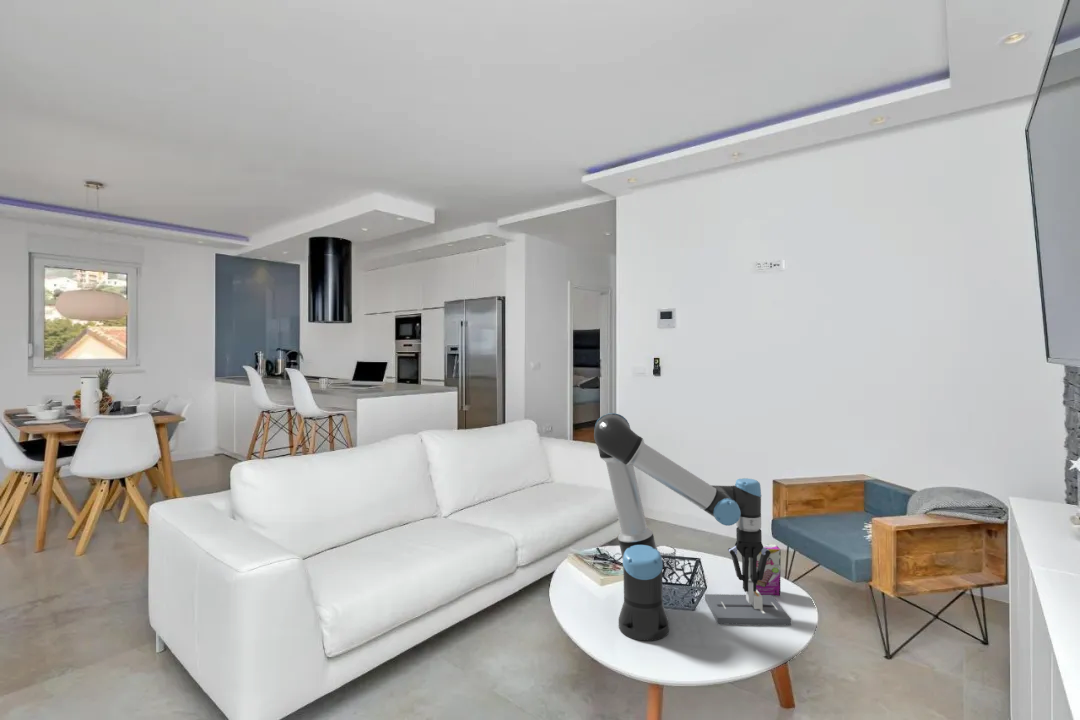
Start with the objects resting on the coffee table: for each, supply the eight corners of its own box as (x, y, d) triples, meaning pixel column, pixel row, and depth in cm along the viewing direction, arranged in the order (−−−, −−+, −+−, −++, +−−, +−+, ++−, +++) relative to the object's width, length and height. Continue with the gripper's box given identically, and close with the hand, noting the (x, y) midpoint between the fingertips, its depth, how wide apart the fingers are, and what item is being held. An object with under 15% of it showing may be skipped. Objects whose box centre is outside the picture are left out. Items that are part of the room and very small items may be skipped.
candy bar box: (747, 595, 182) (747, 548, 182) (743, 589, 187) (743, 543, 187) (781, 596, 181) (781, 548, 181) (776, 590, 186) (776, 543, 186)
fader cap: (754, 609, 168) (754, 596, 168) (749, 601, 173) (749, 589, 173) (762, 609, 168) (762, 596, 168) (757, 601, 173) (756, 589, 173)
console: (717, 624, 163) (717, 617, 163) (705, 600, 179) (704, 593, 179) (791, 625, 162) (791, 618, 162) (771, 600, 178) (771, 594, 178)
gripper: (731, 531, 167) (732, 606, 167) (773, 532, 166) (774, 606, 166) (724, 524, 174) (725, 595, 175) (765, 524, 174) (766, 596, 174)
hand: (749, 601), depth 171 cm, fingers closed
